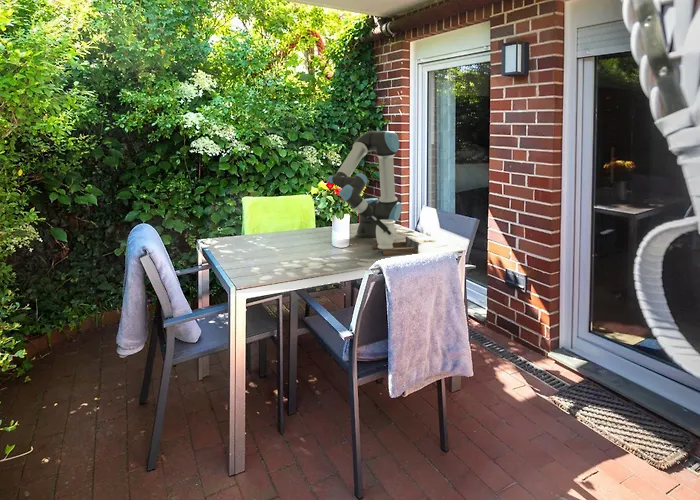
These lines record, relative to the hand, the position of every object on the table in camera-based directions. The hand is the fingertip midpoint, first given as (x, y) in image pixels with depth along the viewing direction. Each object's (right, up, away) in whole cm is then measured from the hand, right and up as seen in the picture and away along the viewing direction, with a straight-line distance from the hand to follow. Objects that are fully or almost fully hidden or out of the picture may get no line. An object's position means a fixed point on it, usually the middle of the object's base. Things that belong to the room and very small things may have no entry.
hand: (390, 235), depth 285 cm
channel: (+3, -8, +3) cm, 9 cm away
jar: (-3, -7, +1) cm, 7 cm away
